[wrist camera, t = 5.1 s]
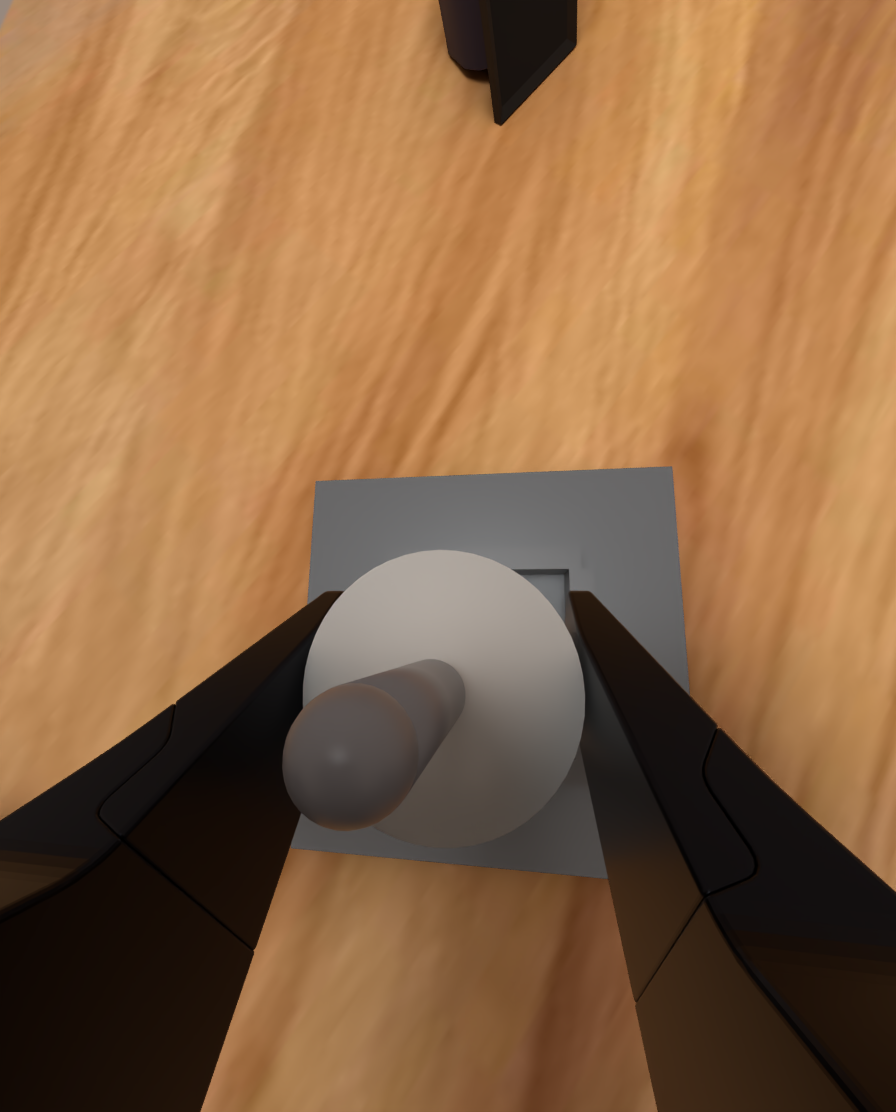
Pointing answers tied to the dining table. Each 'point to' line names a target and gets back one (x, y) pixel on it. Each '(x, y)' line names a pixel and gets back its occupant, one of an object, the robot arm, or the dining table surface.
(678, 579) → the dock
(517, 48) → the speaker
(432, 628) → the plug
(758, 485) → the dining table surface
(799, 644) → the dining table surface
